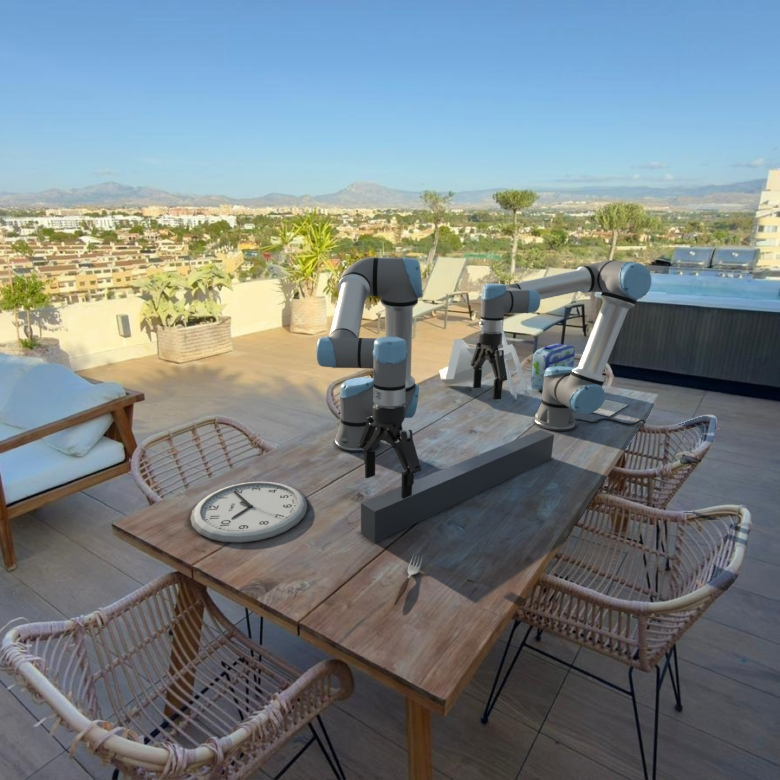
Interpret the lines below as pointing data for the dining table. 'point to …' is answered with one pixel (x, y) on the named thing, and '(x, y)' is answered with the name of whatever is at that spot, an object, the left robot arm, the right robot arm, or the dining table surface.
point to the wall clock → (248, 512)
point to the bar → (452, 485)
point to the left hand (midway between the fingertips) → (387, 486)
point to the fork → (412, 571)
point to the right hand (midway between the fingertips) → (486, 393)
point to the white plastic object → (464, 371)
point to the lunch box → (550, 361)
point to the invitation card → (609, 408)
